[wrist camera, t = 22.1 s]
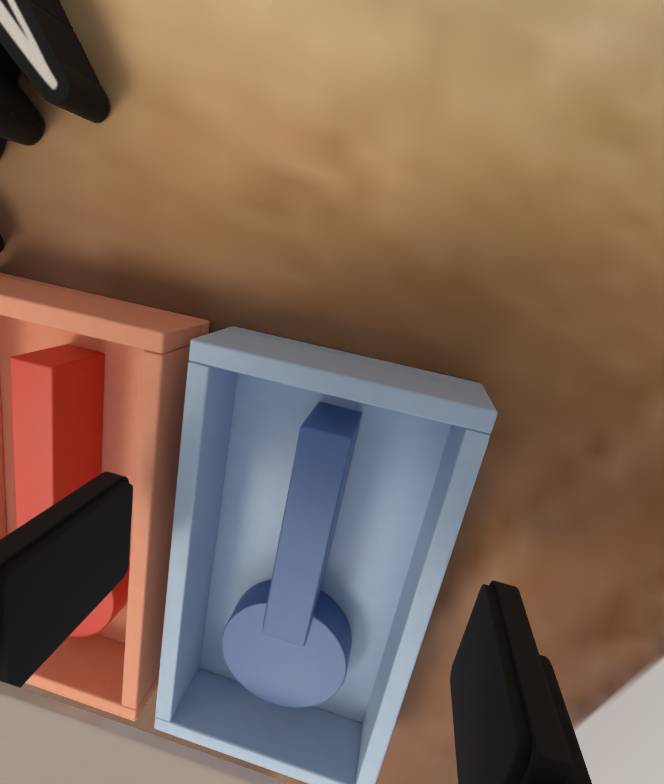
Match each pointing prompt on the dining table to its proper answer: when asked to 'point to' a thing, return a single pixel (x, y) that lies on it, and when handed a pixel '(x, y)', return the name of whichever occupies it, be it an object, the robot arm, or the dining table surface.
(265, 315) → the dining table surface
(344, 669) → the blue spoon
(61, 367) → the red spoon
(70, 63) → the nameplate
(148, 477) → the red bin
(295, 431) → the blue bin
